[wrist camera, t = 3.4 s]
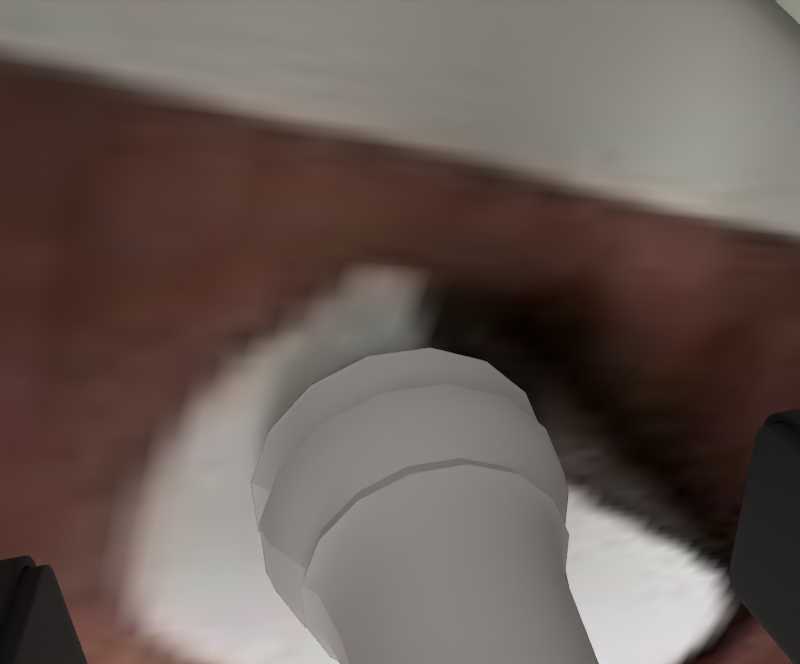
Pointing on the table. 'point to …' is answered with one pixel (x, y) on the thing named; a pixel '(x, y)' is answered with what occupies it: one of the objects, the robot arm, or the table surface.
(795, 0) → the bowl
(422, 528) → the rook chess piece
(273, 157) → the table surface
